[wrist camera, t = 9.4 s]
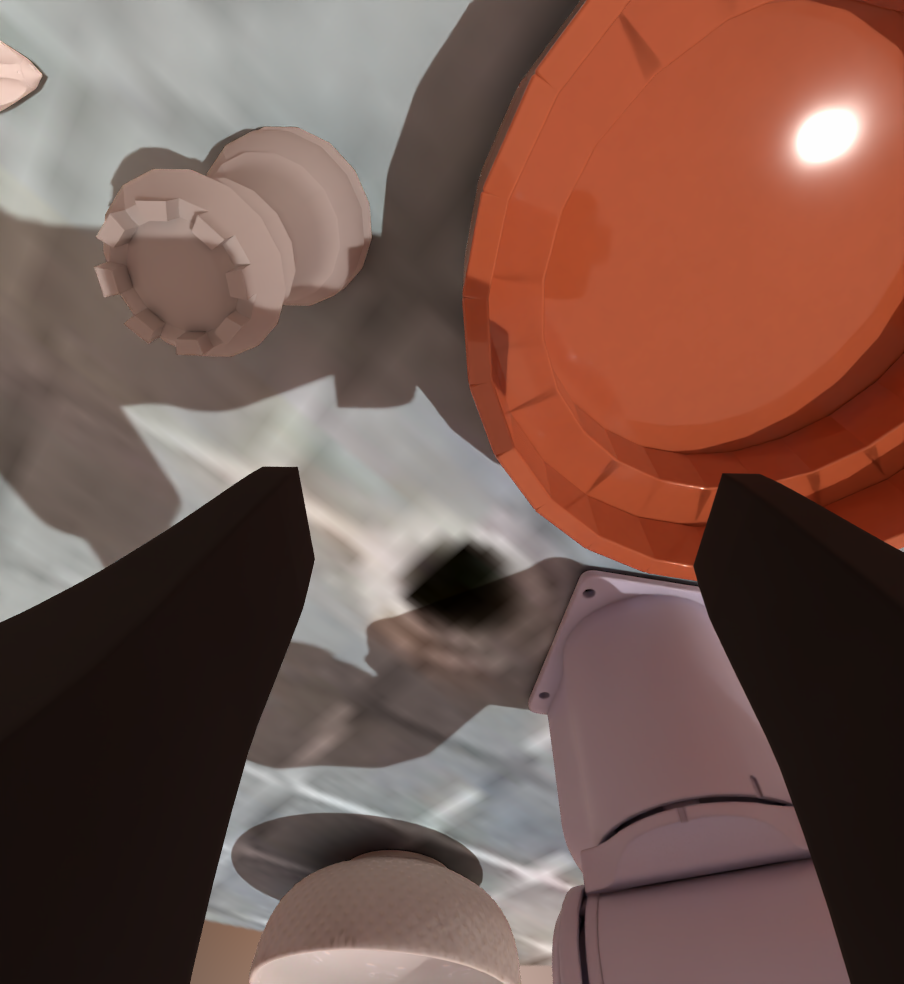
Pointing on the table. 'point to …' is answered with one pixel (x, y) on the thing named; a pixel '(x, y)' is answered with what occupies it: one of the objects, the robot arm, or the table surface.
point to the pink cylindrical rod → (15, 76)
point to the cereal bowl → (386, 927)
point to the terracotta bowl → (695, 269)
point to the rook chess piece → (235, 241)
